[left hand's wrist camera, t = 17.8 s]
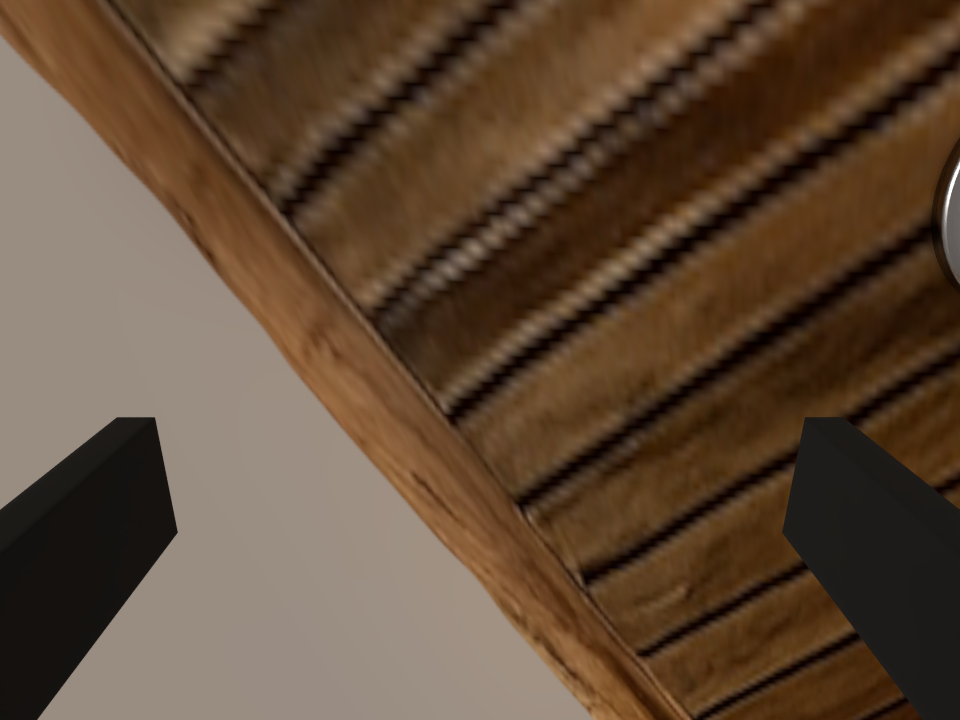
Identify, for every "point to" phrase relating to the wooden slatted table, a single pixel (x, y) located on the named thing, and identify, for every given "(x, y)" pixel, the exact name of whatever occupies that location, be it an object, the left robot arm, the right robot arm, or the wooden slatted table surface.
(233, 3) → the wooden slatted table surface
